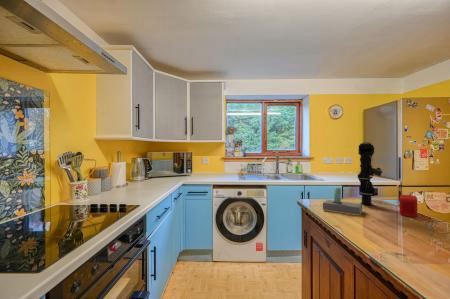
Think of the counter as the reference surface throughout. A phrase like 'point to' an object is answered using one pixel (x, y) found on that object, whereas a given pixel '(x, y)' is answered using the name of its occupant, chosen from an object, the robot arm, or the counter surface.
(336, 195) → the peg
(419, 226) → the counter surface
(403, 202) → the decorative item
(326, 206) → the socket block
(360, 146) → the robot arm
